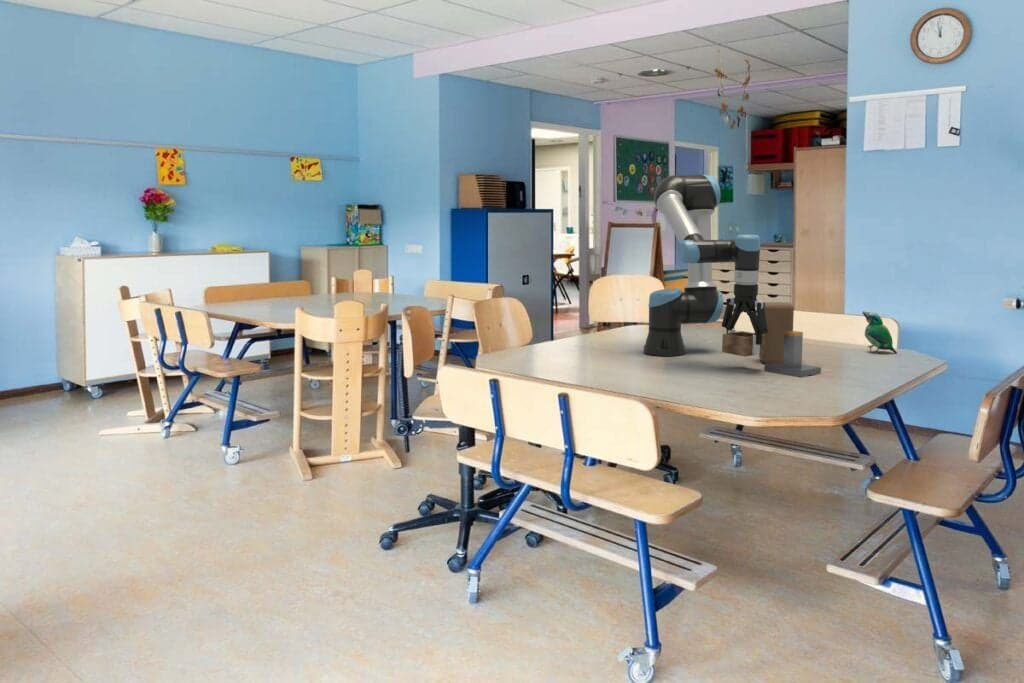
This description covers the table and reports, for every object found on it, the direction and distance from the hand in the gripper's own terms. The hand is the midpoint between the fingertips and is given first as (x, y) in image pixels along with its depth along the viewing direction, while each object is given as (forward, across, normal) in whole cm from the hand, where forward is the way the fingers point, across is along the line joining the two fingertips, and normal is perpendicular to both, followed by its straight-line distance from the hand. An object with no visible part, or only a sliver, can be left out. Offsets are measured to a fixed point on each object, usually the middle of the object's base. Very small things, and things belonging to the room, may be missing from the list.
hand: (743, 351), depth 276 cm
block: (+6, -3, +21) cm, 22 cm away
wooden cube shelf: (0, 0, 0) cm, 0 cm away
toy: (+7, +8, +64) cm, 65 cm away
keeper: (+6, +13, +9) cm, 16 cm away
